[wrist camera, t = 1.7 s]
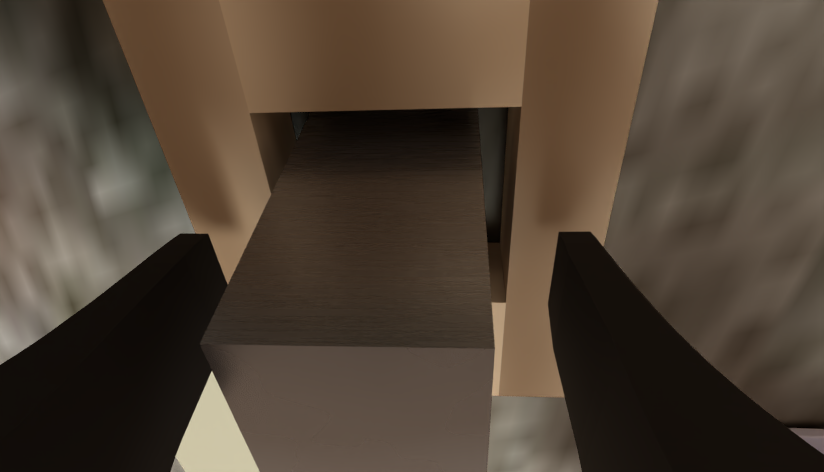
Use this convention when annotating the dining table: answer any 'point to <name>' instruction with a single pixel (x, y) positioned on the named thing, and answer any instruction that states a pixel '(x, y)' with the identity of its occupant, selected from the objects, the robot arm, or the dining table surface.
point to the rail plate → (393, 90)
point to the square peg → (365, 301)
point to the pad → (214, 437)
